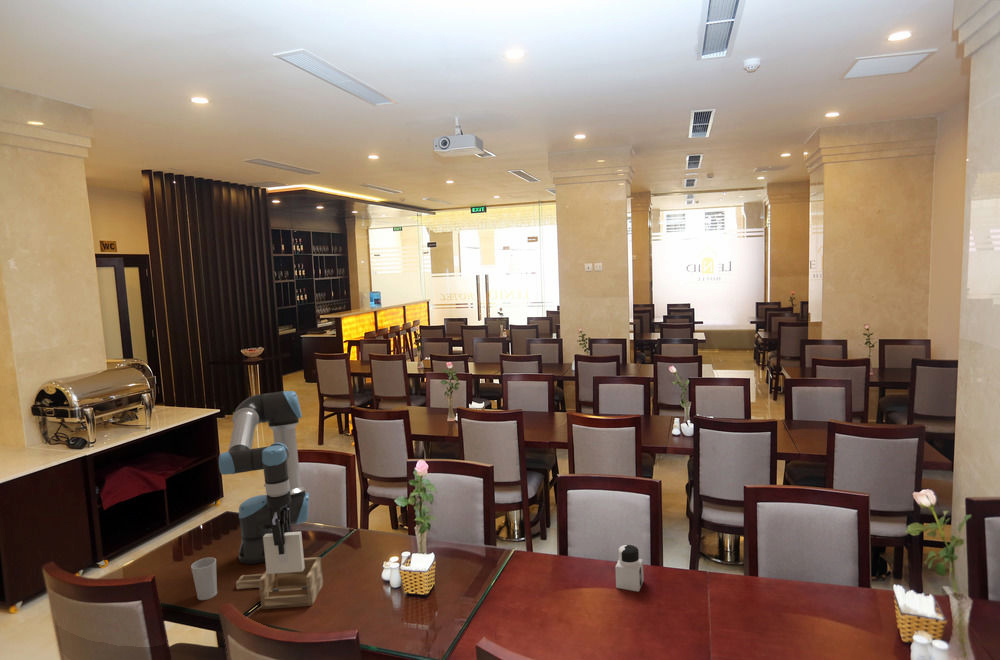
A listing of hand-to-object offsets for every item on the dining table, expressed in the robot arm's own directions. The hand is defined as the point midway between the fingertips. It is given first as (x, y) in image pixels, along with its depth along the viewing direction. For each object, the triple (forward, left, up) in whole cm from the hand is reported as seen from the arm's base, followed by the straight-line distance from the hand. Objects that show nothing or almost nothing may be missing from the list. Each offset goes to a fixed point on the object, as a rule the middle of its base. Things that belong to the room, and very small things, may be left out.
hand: (285, 559), depth 198 cm
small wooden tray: (-14, -16, -16) cm, 26 cm away
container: (+5, +116, -16) cm, 117 cm away
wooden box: (-4, 0, -16) cm, 16 cm away
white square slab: (0, 0, -4) cm, 4 cm away
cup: (-9, -32, -16) cm, 37 cm away
